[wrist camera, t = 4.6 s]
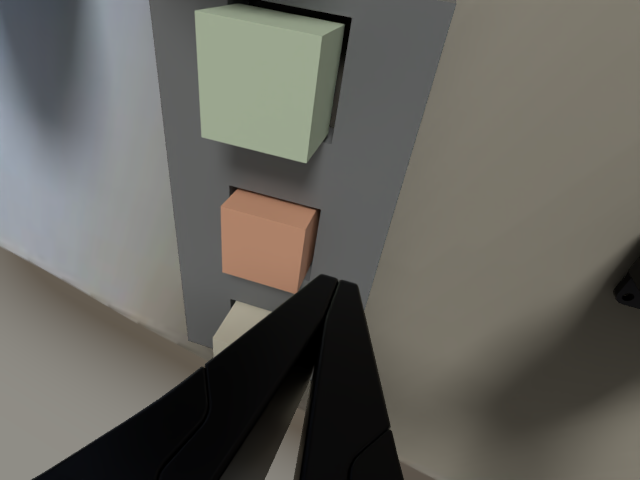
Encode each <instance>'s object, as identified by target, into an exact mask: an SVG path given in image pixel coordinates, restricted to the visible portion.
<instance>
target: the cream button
mask: <svg viewBox="0 0 640 480" xmlns="http://www.w3.org/2000/svg"><path fill="white" fill-rule="evenodd" d="M271 312H272V311H268V310H265V309H262V308H259V307H255V306H252V305H249V304H246V303H242V302H239V301H236V302H235V304H234V305H233V307H232V308H231V310H230V311H229V313H228V315H227V316H226V318H225V319H224V321H223V322H222V324H221V325H220V327H219V329H218V330H217V332H216V333H215V335H214V336H213V355H214V357H215V356H216V355H217V354H219V353H220V352H221V351H222V350H224V349H225V348H226V347H228V346H229V345H230V344H231V343H233V342H234V341H235V340H237V339H238V338H239V337H240V336H242V335H243V334H244V333H245V332H247V331H248V330H249V329H251V328H252V327H253V326H254V325H256V324H257V323H258V322H260V321H261V320H262V319H263V318H265V317H266V316H267V315H268V314H270V313H271Z"/></svg>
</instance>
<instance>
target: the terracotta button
mask: <svg viewBox="0 0 640 480" xmlns="http://www.w3.org/2000/svg"><path fill="white" fill-rule="evenodd" d="M320 213H321V209H317V208H313V207H309V206H305V205H302V204H298V203H294V202H290V201H287V200H283V199H279V198H275V197H272V196H268V195H264V194H260V193H256V192H253V191H249V190H245V189H241V188H238V189H237V190H236V191H235V192H234V193H233V194H232V195H231V196H230V197H229V198H228V199H227V200H226V201H225V202H224V203H223V204H222V205H221V240H222V272H223V273H227V274H230V275H233V276H237V277H240V278H243V279H247V280H250V281H253V282H257V283H260V284H263V285H267V286H270V287H273V288H277V289H280V290H283V291H287V292H290V293H293V294H295V293H297V292H298V290H299V288H300V286H301V284H302V282H303V280H304V278H305V275H306V273H307V271H308V269H309V267H310V265H311V263H312V260H313V256H314V250H315V244H316V238H317V232H318V225H319V219H320Z"/></svg>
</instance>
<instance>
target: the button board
mask: <svg viewBox="0 0 640 480" xmlns="http://www.w3.org/2000/svg"><path fill="white" fill-rule="evenodd" d="M263 1H268V2H273V3H278V4H284V5H289V6H294V7H299V8H304V9H310V10H315V11H320V12H325V13H330V14H336V15H341V16H346V17H351V18H352V21H351V28H350V34H349V40H348V46H347V52H346V59H345V65H344V71H343V77H342V83H341V89H340V96H339V102H338V108H337V114H336V120H335V127H334V128H332V127H329V133H328V135H327V136H326V137H325V139H324V140H323V142H322V143H321V144H320V146H319V147H318V148H317V150H316V151H315V152H314V154H313V155H312V157H311V158H310V159H309V161H308V162H307V163H303V162H299V161H295V160H291V159H287V158H283V157H279V156H275V155H271V154H267V153H263V152H259V151H255V150H251V149H247V148H243V147H239V146H235V145H231V144H227V143H223V142H219V141H215V140H211V139H207V138H203V137H201V119H200V101H199V83H198V64H197V46H196V28H195V10H201V9H207V8H213V7H219V6H225V5H232V4H238V3H240V4H245V5H248V0H149V3H150V12H151V20H152V29H153V38H154V46H155V55H156V63H157V72H158V81H159V89H160V98H161V107H162V115H163V124H164V133H165V141H166V150H167V159H168V167H169V176H170V185H171V193H172V202H173V211H174V219H175V228H176V237H177V245H178V254H179V263H180V271H181V280H182V289H183V297H184V306H185V315H186V323H187V332H188V341H191V342H194V343H197V344H200V345H203V346H206V347H209V348H212V349H213V336H214V335H215V333H216V332H217V330H218V329H219V327H220V325H221V324H222V322H223V321H224V319H225V318H226V316H227V315H228V313H229V311H230V310H231V308H232V307H233V305H234V304H235V302H236V301H239V302H242V303H246V304H249V305H252V306H255V307H259V308H262V309H265V310H268V311H274V310H275V309H276V308H277V307H279V306H280V305H281V304H282V303H284V302H285V301H286V300H288V299H289V298H290V297H291V296H293V295H294V294H293V293H290V292H287V291H283V290H280V289H277V288H273V287H270V286H267V285H263V284H260V283H257V282H253V281H250V280H247V279H243V278H240V277H237V276H233V275H230V274H227V273H223V272H222V240H221V205H222V204H223V203H224V202H225V201H226V200H227V199H228V198H229V197H230V196H231V195H232V194H233V193H234V192H235V191H236V190H237V189H238V188H241V189H245V190H249V191H253V192H256V193H260V194H264V195H268V196H272V197H275V198H279V199H283V200H287V201H290V202H294V203H298V204H302V205H305V206H309V207H313V208H317V209H321V213H320V219H319V225H318V232H317V238H316V244H315V250H314V256H313V260H312V263H311V265H310V267H309V269H308V271H307V273H306V275H305V278H304V280H303V282H302V284H301V286H300V288H299V290H300V289H302V288H303V287H304V286H305V285H307V284H308V283H309V282H311V281H312V280H313V279H314V278H316V277H317V276H318V275H320V274H325V275H328V276H332V277H335V278H337V279H338V282H339V281H340V280H346V281H349V282H353V283H356V284H357V285H358V287H359V291H360V295H361V299H362V304H363V308H364V310H365V307H366V303H367V300H368V297H369V293H370V290H371V287H372V283H373V280H374V277H375V273H376V270H377V267H378V263H379V260H380V257H381V253H382V250H383V247H384V243H385V240H386V237H387V233H388V230H389V227H390V223H391V220H392V217H393V213H394V210H395V207H396V203H397V200H398V197H399V193H400V190H401V187H402V183H403V180H404V177H405V173H406V170H407V166H408V163H409V160H410V156H411V153H412V150H413V146H414V143H415V140H416V136H417V133H418V130H419V126H420V123H421V120H422V116H423V113H424V110H425V106H426V103H427V100H428V96H429V93H430V90H431V86H432V83H433V80H434V76H435V73H436V70H437V66H438V63H439V60H440V56H441V53H442V50H443V46H444V43H445V40H446V36H447V33H448V30H449V26H450V23H451V20H452V16H453V13H454V10H455V6H456V0H263ZM299 290H298V291H299ZM312 375H313V373H312ZM312 375H311V378H310V381H311V380H312Z"/></svg>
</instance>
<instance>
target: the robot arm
mask: <svg viewBox="0 0 640 480" xmlns="http://www.w3.org/2000/svg"><path fill="white" fill-rule="evenodd" d="M627 293H630V294H629V295H626V296H623V295H624V294H627ZM613 294H614V297H615V299H616V300H617V301H618V303H621V304H624V305H627V306H631V307H635V308H638V309H640V257H639V259H638V260H637V261H636V262H635V263H634V265H633V266H632V267H631V268H630V269H629V273H628V274H627V275H626V276H625V277H624V278H623V280H622V281H621V282H620V283H619V284H618V286H617V287H616V288H615V289H614V291H613ZM312 373H313V375H312ZM311 375H312V380H311V385H310V390H309V396H308V401H307V407H306V412H305V418H304V424H303V429H302V435H301V441H300V446H299V452H298V457H297V463H296V469H295V475H294V480H404V478H403V474H402V470H401V467H400V463H399V459H398V455H397V451H396V447H395V442H394V438H393V434H392V431H391V430H389V429H390V421H389V417H388V413H387V408H386V404H385V400H384V395H383V391H382V387H381V382H380V378H379V374H378V369H377V365H376V360H375V356H374V352H373V347H372V343H371V339H370V334H369V330H368V326H367V321H366V317H365V313H364V308H363V304H362V299H361V295H360V291H359V287H358V285H357V284H356V283H353V282H349V281H346V280H340V281H339V282H338V279H337V278H335V277H332V276H328V275H325V274H320V275H318V276H317V277H316V278H314V279H313V280H312V281H311V282H309V283H308V284H307V285H305V286H304V287H303V288H302V289H300V290H299V291H298V292H297V293H295V294H294V295H293V296H291V297H290V298H289V299H288V300H286V301H285V302H284V303H282V304H281V305H280V306H279V307H277V308H276V309H275V310H274V311H272V312H271V313H270V314H268V315H267V316H266V317H265V318H263V319H262V320H261V321H260V322H258V323H257V324H256V325H254V326H253V327H252V328H251V329H249V330H248V331H247V332H245V333H244V334H243V335H242V336H240V337H239V338H238V339H237V340H235V341H234V342H233V343H231V344H230V345H229V346H228V347H226V348H225V349H224V350H222V351H221V352H220V353H219V354H217V355H216V356H215V357H214V358H212V359H211V360H210V361H208V362H207V363H206V364H205V368H204V367H200V369H198V370H197V371H195V372H194V373H193V374H192V375H190V376H189V377H188V378H186V379H185V380H184V381H183V382H181V383H180V384H179V385H177V386H176V387H175V388H173V389H172V390H170V391H169V392H168V393H166V394H165V395H164V396H162V397H161V398H160V399H158V400H156V401H155V402H153V403H152V404H150V405H149V406H147V407H146V408H145V409H143V410H141V411H140V412H138V413H137V414H135V415H134V416H132V417H131V418H129V419H128V420H126V421H125V422H123V423H121V424H120V425H118V426H117V427H115V428H114V429H112V430H110V431H109V432H107V433H106V434H104V435H102V436H101V437H99V438H98V439H96V440H95V441H93V442H91V443H90V444H88V445H87V446H85V447H83V448H82V449H80V450H79V451H77V452H76V453H74V454H72V455H71V456H69V457H68V458H66V459H64V460H63V461H61V462H60V463H58V464H57V465H55V466H53V467H52V468H50V469H49V470H47V471H45V472H44V473H42V474H40V475H39V476H37V477H35V478H33V479H32V480H265V477H266V475H267V473H268V471H269V468H270V466H271V464H272V462H273V460H274V458H275V455H276V453H277V451H278V449H279V446H280V444H281V442H282V440H283V438H284V435H285V433H286V431H287V429H288V427H289V425H290V422H291V420H292V418H293V416H294V414H295V411H296V409H297V407H298V405H299V403H300V400H301V398H302V396H303V394H304V392H305V389H306V387H307V385H308V383H309V380H310V378H311Z"/></svg>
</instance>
